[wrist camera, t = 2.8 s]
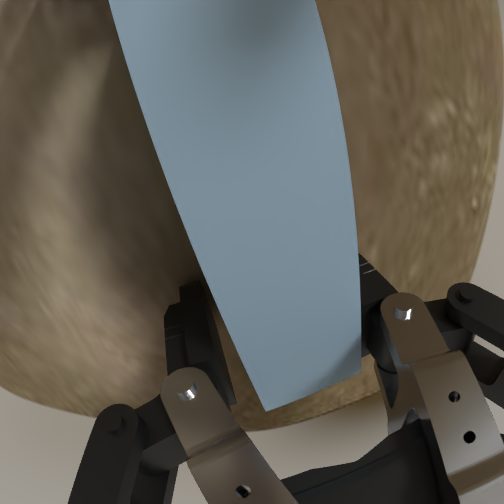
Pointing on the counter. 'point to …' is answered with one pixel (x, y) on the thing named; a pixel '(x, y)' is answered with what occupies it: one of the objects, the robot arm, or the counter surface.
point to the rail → (256, 177)
